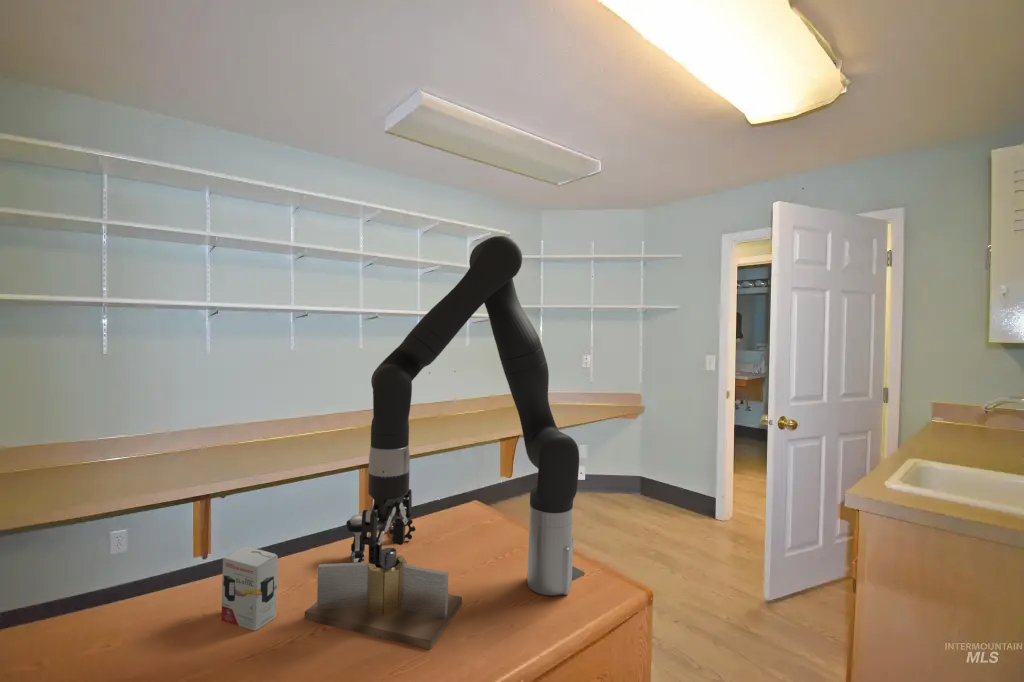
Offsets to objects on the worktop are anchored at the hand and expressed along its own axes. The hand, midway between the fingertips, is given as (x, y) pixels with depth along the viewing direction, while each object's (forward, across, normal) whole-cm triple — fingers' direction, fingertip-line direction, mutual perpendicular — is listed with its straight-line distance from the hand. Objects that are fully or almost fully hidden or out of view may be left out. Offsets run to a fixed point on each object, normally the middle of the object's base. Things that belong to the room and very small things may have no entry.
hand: (387, 553), depth 91 cm
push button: (+12, +15, +16) cm, 25 cm away
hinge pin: (+10, 0, 0) cm, 10 cm away
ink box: (+12, -10, +22) cm, 27 cm away
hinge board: (+11, 0, 0) cm, 11 cm away
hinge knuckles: (+10, -1, 0) cm, 10 cm away
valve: (+12, +32, +15) cm, 37 cm away
